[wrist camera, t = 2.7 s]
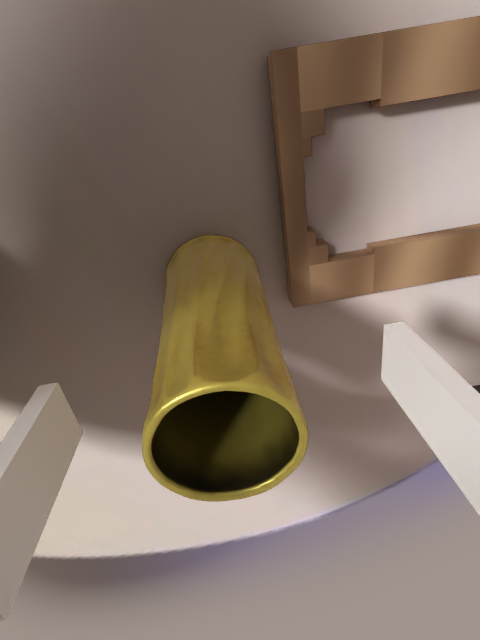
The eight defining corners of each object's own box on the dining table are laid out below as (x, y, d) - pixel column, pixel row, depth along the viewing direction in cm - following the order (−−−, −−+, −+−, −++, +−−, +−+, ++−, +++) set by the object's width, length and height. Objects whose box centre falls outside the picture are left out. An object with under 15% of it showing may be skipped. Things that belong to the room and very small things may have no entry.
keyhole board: (289, 299, 25) (293, 307, 24) (267, 55, 18) (271, 51, 17) (537, 255, 25) (552, 260, 24) (608, -2, 18) (633, -11, 17)
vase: (269, 302, 25) (340, 478, 12) (188, 331, 25) (176, 530, 13) (240, 219, 22) (294, 339, 9) (149, 254, 22) (83, 414, 10)
